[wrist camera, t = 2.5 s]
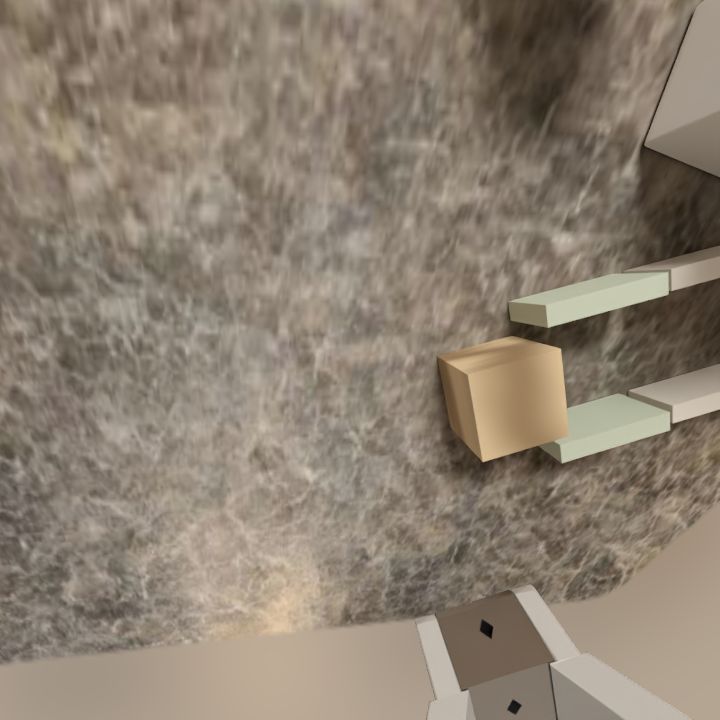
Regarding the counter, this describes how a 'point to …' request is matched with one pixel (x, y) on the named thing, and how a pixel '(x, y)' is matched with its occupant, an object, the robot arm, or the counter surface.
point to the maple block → (505, 395)
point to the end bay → (697, 387)
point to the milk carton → (693, 97)
